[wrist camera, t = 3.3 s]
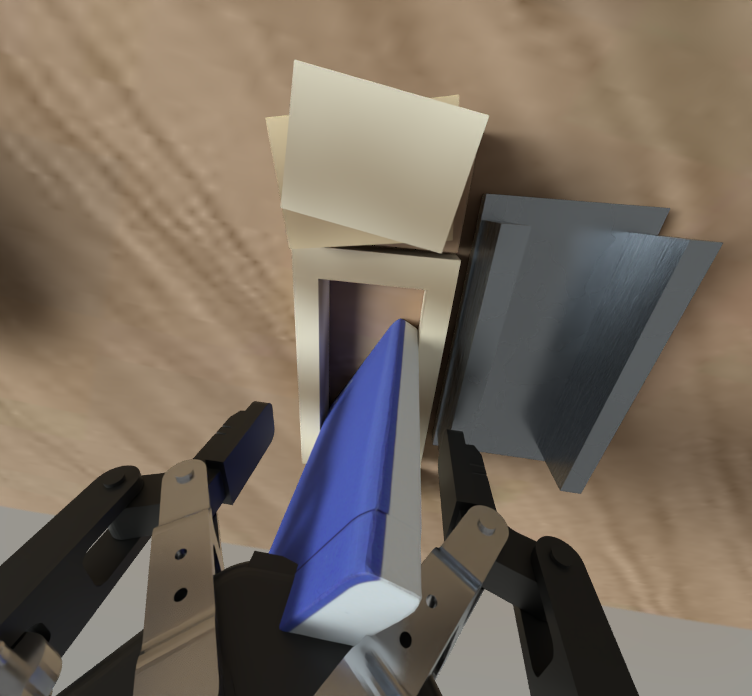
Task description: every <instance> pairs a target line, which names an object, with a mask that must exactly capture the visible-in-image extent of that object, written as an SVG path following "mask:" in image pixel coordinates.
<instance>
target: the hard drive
mask: <svg viewBox="0 0 752 696" xmlns="http://www.w3.org/2000/svg"><path fill="white" fill-rule="evenodd" d="M420 543H421V474H420V417H419V360H418V330H417V329H416V328H415V327H414V326H412V325H411V324H410V323H408V322H407V321H405V320H403V319H398V320H397V321H395V322H394V323H393V324H392V325H391V326H390V328H389V329H388V330H387V332H386V333H385V334H384V336H383V337H382V338H381V339H380V341H379V342H378V343H377V345H376V346H375V348H374V349H373V350H372V352H371V353H370V354H369V356H368V357H367V358H366V359H365V361H364V362H363V364H362V365H361V366H360V368H359V369H358V370H357V372H356V373H355V374H354V376H353V377H352V378H351V380H350V381H349V382H348V384H347V385H346V386H345V388H344V389H343V390H342V392H341V393H340V394H339V395H338V397H337V398H336V400H335V401H334V402H333V404H332V405H331V407H330V409H329V411H328V413H327V416H326V418H325V421H324V423H323V425H322V428H321V430H320V432H319V435H318V437H317V439H316V442H315V444H314V447H313V449H312V451H311V454H310V456H309V459H308V461H307V463H306V466H305V468H304V471H303V473H302V475H301V478H300V480H299V483H298V485H297V487H296V490H295V492H294V494H293V497H292V499H291V501H290V504H289V506H288V508H287V511H286V513H285V515H284V518H283V520H282V523H281V525H280V527H279V530H278V532H277V535H276V537H275V539H274V542H273V544H272V546H271V549H270V551H269V554H275V555H280V556H284V557H286V558H287V559H289V560H291V561H293V562H295V563H297V564H298V567H297V570H296V573H295V578H294V581H293V585H292V588H291V591H290V594H289V597H288V601H287V604H286V607H285V610H284V613H283V616H282V619H281V623H280V626H279V627H280V630H282V631H285V632H291V633H296V634H301V635H305V636H309V637H314V638H318V639H323V640H328V641H332V642H337V643H342V644H347V645H351V646H355V645H356V644H357V643H359V642H360V641H361V640H362V639H363V638H364V636H365V635H369V636H372V635H375V634H377V633H379V632H380V631H382V630H384V629H386V628H388V627H390V626H392V625H393V624H395V623H397V622H399V621H401V620H402V619H404V618H405V617H407V616H409V615H410V614H411V613H413V612H414V611H415V610H416V608H417V607H418V606H419V603H420V601H421V599H422V591H421V546H420Z"/></svg>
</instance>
